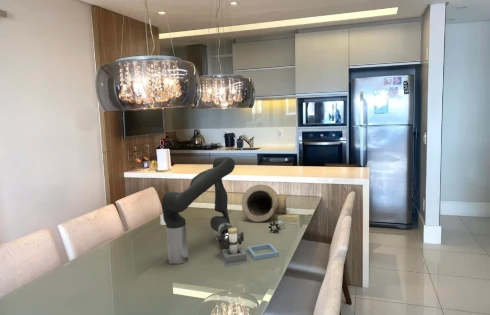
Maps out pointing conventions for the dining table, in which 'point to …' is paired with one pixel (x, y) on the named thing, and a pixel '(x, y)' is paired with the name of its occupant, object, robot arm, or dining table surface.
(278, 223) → the valve
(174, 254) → the robot arm
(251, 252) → the parts tray
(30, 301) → the dining table surface
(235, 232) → the capped white cylinder
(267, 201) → the pipe
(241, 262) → the block
